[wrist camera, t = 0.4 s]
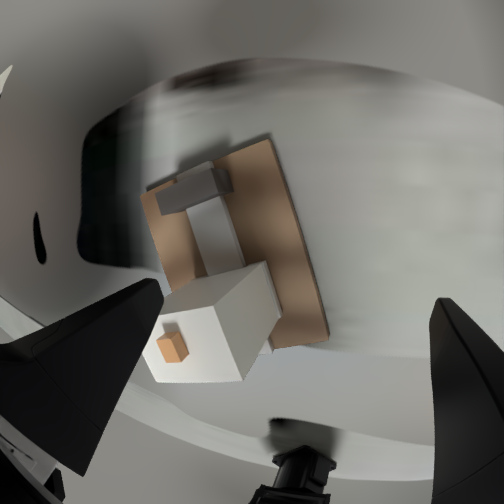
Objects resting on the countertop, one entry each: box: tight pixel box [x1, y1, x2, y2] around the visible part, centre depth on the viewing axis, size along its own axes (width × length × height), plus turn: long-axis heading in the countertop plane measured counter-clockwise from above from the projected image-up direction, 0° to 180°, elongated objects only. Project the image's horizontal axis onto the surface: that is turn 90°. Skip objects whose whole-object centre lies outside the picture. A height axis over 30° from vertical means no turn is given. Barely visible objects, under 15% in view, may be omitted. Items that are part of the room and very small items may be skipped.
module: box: [142, 260, 283, 383], centre depth 21 cm, size 5×7×11 cm
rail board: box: [140, 139, 330, 355], centre depth 25 cm, size 18×14×4 cm
